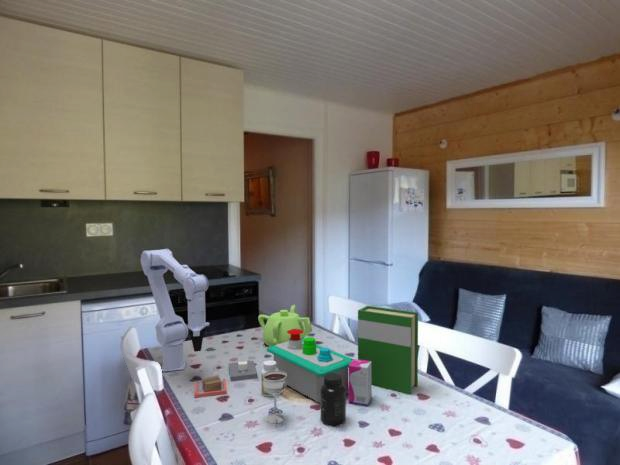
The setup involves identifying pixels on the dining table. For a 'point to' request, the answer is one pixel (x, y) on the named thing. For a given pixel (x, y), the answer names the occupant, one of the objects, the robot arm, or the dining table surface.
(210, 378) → the block
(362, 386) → the supplement box
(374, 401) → the dining table surface
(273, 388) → the wineglass
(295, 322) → the teapot
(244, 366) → the switch
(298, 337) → the control panel
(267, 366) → the supplement bottle
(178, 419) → the dining table surface
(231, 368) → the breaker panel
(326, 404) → the supplement bottle
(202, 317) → the robot arm
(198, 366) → the dining table surface
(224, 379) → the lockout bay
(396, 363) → the hardback book
